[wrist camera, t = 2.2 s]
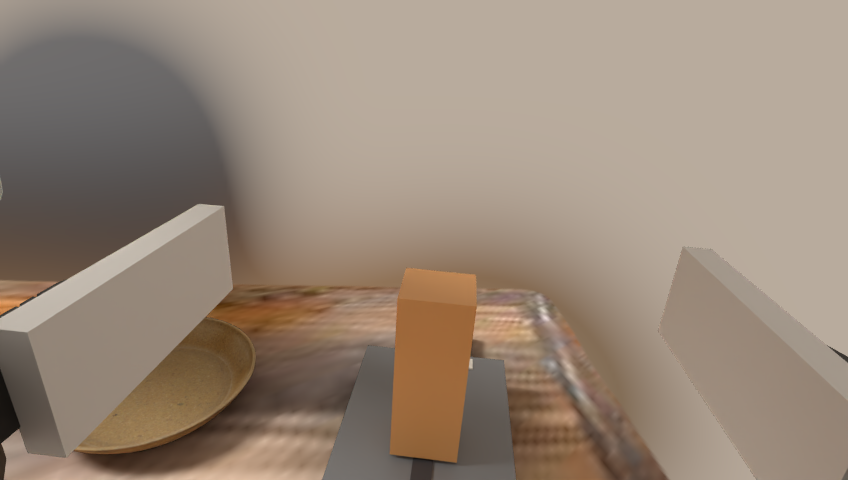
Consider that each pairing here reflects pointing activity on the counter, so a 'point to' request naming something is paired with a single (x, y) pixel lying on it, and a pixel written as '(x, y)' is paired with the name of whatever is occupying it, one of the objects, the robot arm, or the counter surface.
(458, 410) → the breaker handle
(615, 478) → the counter surface
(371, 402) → the switch box
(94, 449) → the plant saucer
